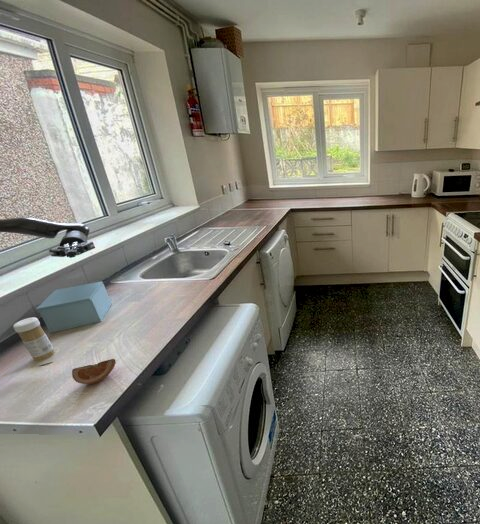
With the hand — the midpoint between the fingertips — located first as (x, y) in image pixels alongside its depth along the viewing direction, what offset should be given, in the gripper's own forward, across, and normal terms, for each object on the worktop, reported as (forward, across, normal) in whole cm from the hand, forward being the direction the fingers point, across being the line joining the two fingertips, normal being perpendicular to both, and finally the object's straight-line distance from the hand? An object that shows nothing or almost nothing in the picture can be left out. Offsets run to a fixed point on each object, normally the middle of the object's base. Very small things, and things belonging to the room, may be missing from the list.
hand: (71, 254), depth 100 cm
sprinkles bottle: (+29, +10, -22) cm, 38 cm away
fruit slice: (+48, -2, -22) cm, 53 cm away
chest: (+5, +3, -22) cm, 22 cm away
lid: (+5, +3, -13) cm, 14 cm away
